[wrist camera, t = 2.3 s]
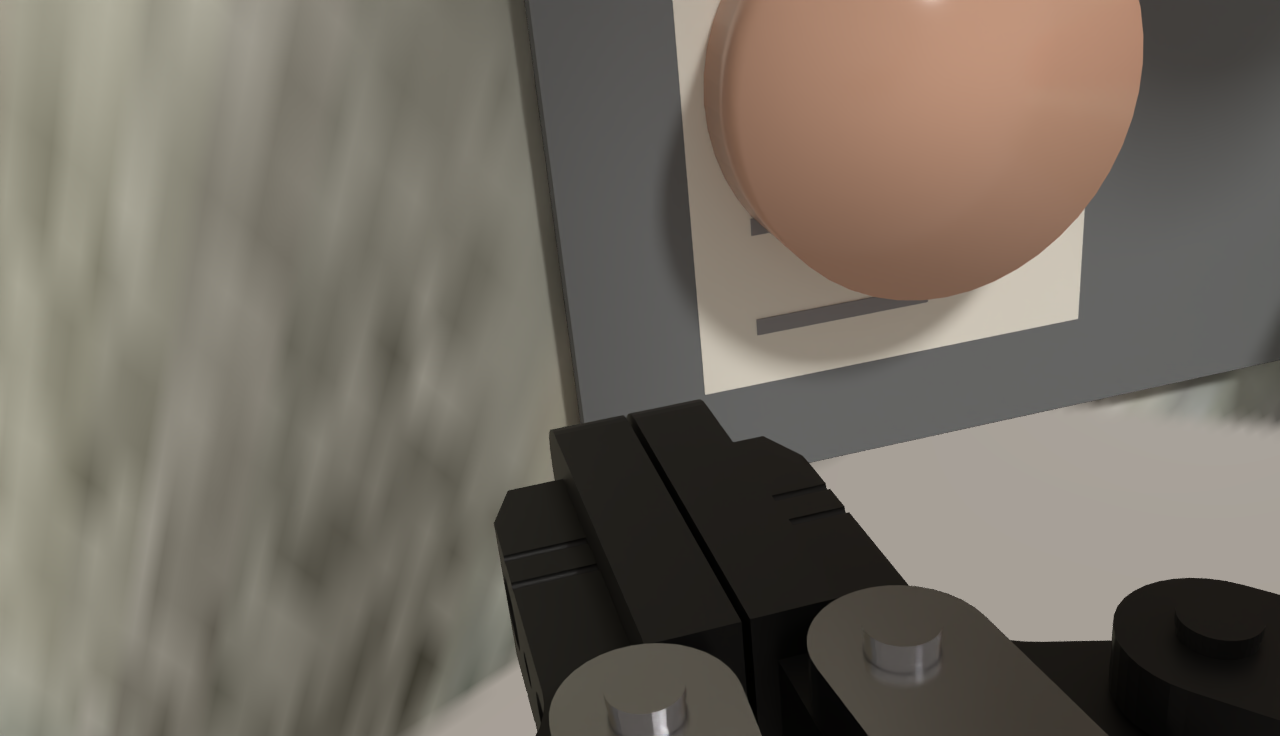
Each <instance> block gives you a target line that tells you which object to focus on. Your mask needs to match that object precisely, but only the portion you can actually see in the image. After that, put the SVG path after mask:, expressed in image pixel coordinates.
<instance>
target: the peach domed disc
mask: <svg viewBox="0 0 1280 736" xmlns="http://www.w3.org/2000/svg"><path fill="white" fill-rule="evenodd" d="M1142 65H1143V27H1142V17H1141V7H1140V3H1139V0H721V1H720V3H719V6H718V9H717V12H716V14H715V17H714V20H713V24H712V28H711V32H710V36H709V41H708V45H707V50H706V59H705V68H704V108H705V115H706V122H707V129H708V133H709V137H710V140H711V144H712V148H713V151H714V155H715V157H716V159H717V162H718V164H719V167H720V169H721V171H722V174H723V176H724V178H725V180H726V181H727V183H728V185H729V186H730V188H731V190H732V191H733V193H734V195H735V196H736V198H737V199H738V200H739V202H740V203H741V204H742V205H743V207H744V208H745V209H746V210H747V211H748V213H749V214H750V215H751V216H752V217H753V218H754V219H755V220H756V221H757V222H758V223H759V224H760V225H762V226H763V227H764V228H765V229H766V230H767V231H768V232H769V233H770V234H772V235H773V236H774V237H775V238H776V239H777V240H779V241H780V242H781V243H782V244H783V245H784V246H786V247H787V248H788V249H789V250H790V251H791V252H793V253H794V254H795V255H796V256H797V257H798V258H800V259H801V260H802V261H803V262H804V263H805V264H807V265H808V266H809V267H810V268H812V269H813V270H815V271H816V272H818V273H819V274H821V275H822V276H824V277H825V278H827V279H828V280H830V281H832V282H835V283H837V284H839V285H841V286H843V287H845V288H847V289H850V290H852V291H856V292H859V293H862V294H866V295H869V296H873V297H878V298H885V299H892V300H929V299H936V298H944V297H949V296H953V295H957V294H961V293H964V292H968V291H972V290H974V289H977V288H979V287H982V286H984V285H987V284H989V283H992V282H994V281H996V280H998V279H1000V278H1002V277H1004V276H1005V275H1007V274H1009V273H1011V272H1013V271H1015V270H1017V269H1018V268H1020V267H1021V266H1023V265H1024V264H1026V263H1027V262H1028V261H1030V260H1031V259H1033V258H1034V257H1036V256H1037V255H1039V254H1040V253H1041V252H1042V251H1043V250H1045V249H1046V248H1047V247H1048V246H1049V245H1050V244H1052V243H1053V242H1054V241H1055V240H1056V239H1057V238H1059V237H1060V236H1061V235H1062V234H1063V232H1064V231H1065V230H1066V229H1067V228H1068V227H1069V226H1070V225H1071V224H1072V223H1073V222H1074V221H1075V220H1076V219H1077V218H1078V217H1079V215H1080V214H1081V213H1082V211H1083V210H1084V209H1085V208H1086V206H1087V205H1088V204H1089V202H1090V201H1091V200H1092V198H1093V197H1094V196H1095V194H1096V193H1097V191H1098V190H1099V188H1100V186H1101V185H1102V183H1103V182H1104V180H1105V178H1106V177H1107V175H1108V173H1109V172H1110V170H1111V168H1112V166H1113V164H1114V162H1115V160H1116V158H1117V156H1118V154H1119V152H1120V149H1121V147H1122V145H1123V143H1124V140H1125V137H1126V134H1127V132H1128V129H1129V126H1130V123H1131V121H1132V118H1133V114H1134V109H1135V105H1136V101H1137V97H1138V93H1139V88H1140V80H1141V73H1142Z"/></svg>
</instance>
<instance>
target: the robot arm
mask: <svg viewBox="0 0 1280 736" xmlns="http://www.w3.org/2000/svg"><path fill="white" fill-rule="evenodd" d="M549 440H550V451H551V459H552V465H553V472H554V479H555V481H551V482H546V483H542V484H537V485H532V486H528V487H523V488H518V489H514V490H509V491H508V492H507V494H506V496H505V499H504V501H503V503H502V506H501V508H500V510H499V513H498V515H497V517H496V520H495V522H494V527H495V532H496V538H497V544H498V549H499V555H500V561H501V567H502V572H503V578H504V584H505V590H506V595H507V601H508V607H509V613H510V618H511V624H512V630H513V636H514V641H515V647H516V653H517V657H518V661H519V665H520V668H521V672H522V676H523V679H524V683H525V687H526V691H527V693H528V698H529V702H530V706H531V709H532V713H533V717H534V720H535V722H536V727H537V734H536V736H1280V595H1278V594H1275V593H1271V592H1267V591H1263V590H1260V589H1256V588H1252V587H1249V586H1245V585H1241V584H1236V583H1232V582H1228V581H1221V580H1213V579H1202V578H1182V579H1171V580H1165V581H1159V582H1155V583H1152V584H1149V585H1146V586H1143V587H1141V588H1139V589H1137V590H1135V591H1133V592H1132V593H1131V594H1129V595H1128V596H1127V597H1125V598H1124V599H1123V600H1122V602H1121V603H1120V604H1119V605H1118V607H1117V609H1116V612H1115V614H1114V620H1113V631H1112V641H1067V642H1065V641H1064V642H1023V641H1012V640H1009V639H1008V638H1007V637H1006V636H1005V635H1004V634H1003V633H1002V632H1001V631H1000V630H999V629H998V628H997V627H996V626H995V625H994V624H993V623H992V622H991V621H990V620H989V619H988V618H987V617H985V616H984V615H983V614H982V613H981V612H980V611H979V610H977V609H976V608H975V607H973V606H972V605H970V604H968V603H967V602H965V601H963V600H962V599H959V598H957V597H955V596H952V595H950V594H947V593H944V592H941V591H937V590H934V589H929V588H923V587H917V586H909V585H908V584H907V583H906V582H905V580H904V579H903V578H902V577H901V575H900V574H899V573H898V572H897V571H896V569H895V568H894V567H893V566H892V564H891V563H890V562H889V561H888V559H887V558H886V557H885V556H884V555H883V553H882V552H881V551H880V550H879V549H878V547H877V546H876V545H875V544H874V542H873V541H872V540H871V539H870V537H869V536H868V535H867V534H866V532H865V531H864V530H863V529H862V528H861V526H860V525H859V524H858V523H857V521H856V520H855V519H854V518H853V517H852V515H851V514H850V513H846V512H845V508H844V506H843V504H842V503H841V502H840V501H839V500H838V498H837V497H836V496H835V494H834V493H833V492H832V491H831V490H830V489H829V490H827V488H826V484H825V482H824V481H823V480H822V479H821V477H820V476H819V475H818V474H817V472H816V471H815V470H814V469H813V467H812V466H811V465H810V464H809V463H808V461H807V460H806V459H805V458H804V456H803V455H801V454H799V453H797V452H795V451H792V450H790V449H788V448H786V447H784V446H782V445H780V444H778V443H776V442H774V441H772V440H770V439H768V438H766V437H764V436H760V437H756V438H751V439H746V440H742V441H737V442H733V441H732V440H731V438H730V437H729V436H728V434H727V433H726V432H725V430H724V429H723V427H722V426H721V425H720V423H719V422H718V420H717V419H716V418H715V416H714V415H713V413H712V412H711V411H710V409H709V408H708V406H707V405H706V404H705V403H704V401H703V400H701V399H697V400H692V401H687V402H683V403H678V404H673V405H668V406H663V407H658V408H653V409H649V410H644V411H639V412H634V413H629V414H628V415H627V418H626V417H625V416H624V415H621V416H616V417H611V418H606V419H601V420H596V421H591V422H587V423H582V424H577V425H572V426H567V427H562V428H557V429H553V430H550V434H549Z"/></svg>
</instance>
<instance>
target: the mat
mask: <svg viewBox="0 0 1280 736" xmlns="http://www.w3.org/2000/svg"><path fill="white" fill-rule="evenodd" d="M720 1H721V0H525V8H526V15H527V23H528V30H529V38H530V45H531V53H532V60H533V68H534V75H535V83H536V91H537V98H538V106H539V113H540V121H541V128H542V136H543V143H544V151H545V158H546V166H547V173H548V181H549V189H550V196H551V204H552V211H553V219H554V226H555V234H556V241H557V249H558V256H559V264H560V271H561V279H562V287H563V294H564V302H565V309H566V317H567V324H568V332H569V339H570V347H571V354H572V362H573V370H574V377H575V385H576V392H577V400H578V407H579V415H580V422H581V424H582V423H587V422H591V421H596V420H601V419H606V418H611V417H616V416H621V415H624V416H625V417H626V418H627V415H628V414H629V413H634V412H639V411H644V410H649V409H653V408H658V407H663V406H668V405H673V404H678V403H683V402H687V401H692V400H697V399H701V400H703V401H704V403H705V404H706V405H707V406H708V408H709V409H710V411H711V412H712V413H713V415H714V416H715V418H716V419H717V420H718V422H719V423H720V425H721V426H722V427H723V429H724V430H725V432H726V433H727V434H728V436H729V437H730V438H731V440H732V441H733V442H737V441H742V440H746V439H751V438H756V437H760V436H764V437H766V438H768V439H770V440H772V441H774V442H776V443H778V444H780V445H782V446H784V447H786V448H788V449H790V450H792V451H795V452H797V453H799V454H801V455H803V456H804V458H805V459H806V460H807V461H808V463H811V462H815V461H820V460H824V459H829V458H833V457H838V456H843V455H847V454H852V453H856V452H861V451H865V450H870V449H875V448H879V447H884V446H888V445H893V444H897V443H902V442H907V441H911V440H916V439H920V438H925V437H929V436H934V435H939V434H943V433H948V432H952V431H957V430H961V429H966V428H970V427H975V426H980V425H984V424H989V423H994V422H998V421H1002V420H1007V419H1012V418H1016V417H1021V416H1026V415H1030V414H1034V413H1039V412H1044V411H1048V410H1053V409H1058V408H1062V407H1067V406H1071V405H1076V404H1080V403H1085V402H1090V401H1094V400H1099V399H1103V398H1108V397H1113V396H1117V395H1122V394H1126V393H1131V392H1135V391H1140V390H1145V389H1149V388H1154V387H1158V386H1163V385H1167V384H1172V383H1177V382H1181V381H1186V380H1190V379H1195V378H1199V377H1204V376H1209V375H1213V374H1218V373H1222V372H1227V371H1232V370H1236V369H1241V368H1245V367H1250V366H1254V365H1259V364H1264V363H1268V362H1273V361H1277V360H1280V0H1139V3H1140V7H1141V17H1142V27H1143V65H1142V73H1141V80H1140V88H1139V93H1138V97H1137V101H1136V105H1135V109H1134V114H1133V118H1132V121H1131V123H1130V126H1129V129H1128V132H1127V134H1126V137H1125V140H1124V143H1123V145H1122V147H1121V149H1120V152H1119V154H1118V156H1117V158H1116V160H1115V162H1114V164H1113V166H1112V168H1111V170H1110V172H1109V173H1108V175H1107V177H1106V178H1105V180H1104V182H1103V183H1102V185H1101V186H1100V188H1099V190H1098V191H1097V193H1096V194H1095V196H1094V197H1093V198H1092V200H1091V201H1090V202H1089V204H1088V205H1087V206H1086V208H1085V209H1084V210H1083V211H1082V213H1081V214H1080V215H1079V217H1078V218H1077V219H1076V220H1075V221H1074V222H1073V223H1072V224H1071V225H1070V226H1069V227H1068V228H1067V229H1066V230H1065V231H1064V232H1063V234H1062V235H1061V236H1060V237H1059V238H1057V239H1056V240H1055V241H1054V242H1053V243H1052V244H1050V245H1049V246H1048V247H1047V248H1046V249H1045V250H1043V251H1042V252H1041V253H1040V254H1039V255H1037V256H1036V257H1034V258H1033V259H1031V260H1030V261H1028V262H1027V263H1026V264H1024V265H1023V266H1021V267H1020V268H1018V269H1017V270H1015V271H1013V272H1011V273H1009V274H1007V275H1005V276H1004V277H1002V278H1000V279H998V280H996V281H994V282H992V283H989V284H987V285H984V286H982V287H979V288H977V289H974V290H972V291H968V292H964V293H961V294H957V295H953V296H949V297H944V298H936V299H929V300H892V299H885V298H878V297H873V296H869V295H866V294H862V293H859V292H856V291H852V290H850V289H847V288H845V287H843V286H841V285H839V284H837V283H835V282H832V281H830V280H828V279H827V278H825V277H824V276H822V275H821V274H819V273H818V272H816V271H815V270H813V269H812V268H810V267H809V266H808V265H807V264H805V263H804V262H803V261H802V260H801V259H800V258H798V257H797V256H796V255H795V254H794V253H793V252H791V251H790V250H789V249H788V248H787V247H786V246H784V245H783V244H782V243H781V242H780V241H779V240H777V239H776V238H775V237H774V236H773V235H772V234H770V233H769V232H768V231H767V230H766V229H765V228H764V227H763V226H762V225H760V224H759V223H758V222H757V221H756V220H755V219H754V218H753V217H752V216H751V215H750V214H749V213H748V211H747V210H746V209H745V208H744V207H743V205H742V204H741V203H740V202H739V200H738V199H737V198H736V196H735V195H734V193H733V191H732V190H731V188H730V186H729V185H728V183H727V181H726V180H725V178H724V176H723V174H722V171H721V169H720V167H719V164H718V162H717V159H716V157H715V155H714V151H713V148H712V144H711V140H710V137H709V133H708V129H707V122H706V115H705V108H704V68H705V59H706V50H707V45H708V41H709V36H710V32H711V28H712V24H713V20H714V17H715V14H716V12H717V9H718V6H719V3H720Z"/></svg>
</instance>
